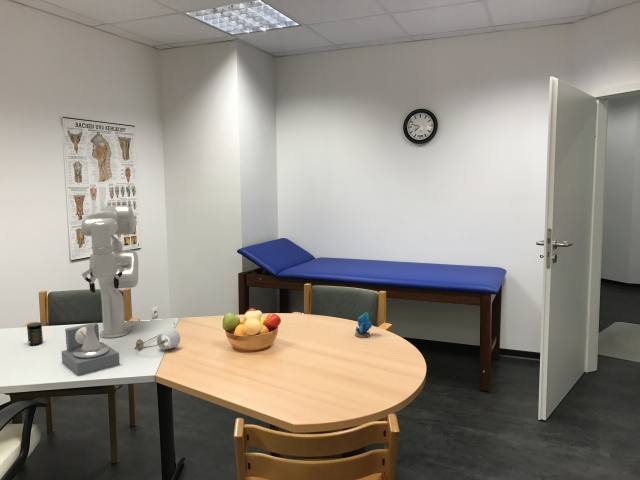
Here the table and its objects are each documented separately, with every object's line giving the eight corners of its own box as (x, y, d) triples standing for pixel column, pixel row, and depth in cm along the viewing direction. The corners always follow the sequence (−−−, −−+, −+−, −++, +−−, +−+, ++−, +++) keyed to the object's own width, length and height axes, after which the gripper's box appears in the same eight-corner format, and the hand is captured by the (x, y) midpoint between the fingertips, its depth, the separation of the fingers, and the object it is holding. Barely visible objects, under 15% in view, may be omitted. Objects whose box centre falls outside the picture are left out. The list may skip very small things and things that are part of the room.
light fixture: (208, 331, 250) (168, 355, 211) (176, 336, 254) (131, 360, 215) (204, 312, 250) (164, 333, 211) (172, 318, 254) (126, 339, 215)
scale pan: (101, 344, 213) (101, 341, 213) (114, 352, 204) (114, 349, 203) (68, 351, 204) (68, 349, 204) (80, 360, 195) (80, 358, 194)
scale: (102, 353, 217) (100, 321, 215) (119, 364, 205) (117, 331, 203) (62, 363, 206) (59, 329, 204) (78, 376, 194) (75, 340, 192)
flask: (105, 347, 206) (104, 323, 204) (91, 353, 199) (90, 329, 198) (91, 345, 208) (89, 321, 207) (77, 351, 202) (75, 327, 200)
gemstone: (374, 334, 242) (374, 310, 240) (363, 339, 235) (363, 314, 234) (361, 331, 247) (362, 307, 245) (350, 336, 240) (350, 311, 239)
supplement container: (45, 343, 230) (44, 323, 228) (32, 346, 225) (31, 327, 224) (38, 340, 233) (37, 321, 232) (25, 344, 228) (24, 324, 227)
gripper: (119, 246, 222) (121, 284, 225) (77, 251, 210) (80, 291, 213) (126, 249, 216) (128, 288, 219) (83, 254, 204) (86, 295, 208)
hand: (104, 289), depth 216 cm, fingers open, 9 cm apart
